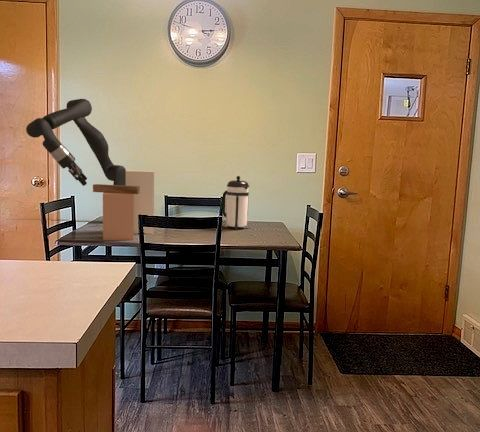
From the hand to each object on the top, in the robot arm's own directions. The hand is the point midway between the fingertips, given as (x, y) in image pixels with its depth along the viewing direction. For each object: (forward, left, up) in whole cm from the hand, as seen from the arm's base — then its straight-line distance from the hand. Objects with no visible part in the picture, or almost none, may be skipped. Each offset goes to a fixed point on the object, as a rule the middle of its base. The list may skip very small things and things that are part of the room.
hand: (85, 182), depth 219 cm
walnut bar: (+1, +18, -4) cm, 18 cm away
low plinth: (+1, +19, -26) cm, 32 cm away
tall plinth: (-17, +20, -26) cm, 37 cm away
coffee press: (-54, +61, -26) cm, 86 cm away
